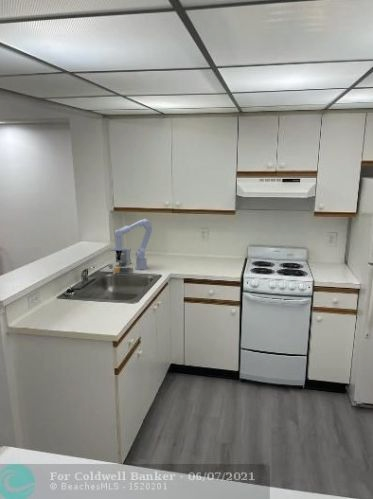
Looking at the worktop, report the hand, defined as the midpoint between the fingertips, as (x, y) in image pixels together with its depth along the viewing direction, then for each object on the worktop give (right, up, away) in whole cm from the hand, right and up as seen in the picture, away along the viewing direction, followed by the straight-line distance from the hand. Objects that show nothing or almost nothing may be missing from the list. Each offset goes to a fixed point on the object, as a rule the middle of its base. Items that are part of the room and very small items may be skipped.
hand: (119, 259), depth 308 cm
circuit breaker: (0, -6, +18) cm, 19 cm away
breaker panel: (+4, -11, -4) cm, 13 cm away
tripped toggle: (+1, -11, -12) cm, 16 cm away
